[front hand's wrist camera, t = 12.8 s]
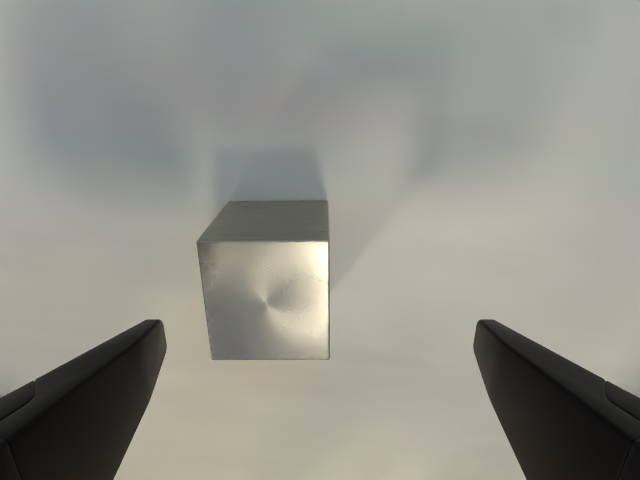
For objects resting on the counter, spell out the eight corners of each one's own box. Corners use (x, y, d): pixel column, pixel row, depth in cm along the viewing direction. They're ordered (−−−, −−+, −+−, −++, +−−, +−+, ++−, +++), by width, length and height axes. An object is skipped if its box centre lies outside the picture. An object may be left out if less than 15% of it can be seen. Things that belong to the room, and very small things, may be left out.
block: (328, 296, 19) (329, 360, 15) (237, 296, 19) (211, 360, 15) (327, 200, 17) (329, 240, 13) (228, 201, 18) (196, 241, 13)
